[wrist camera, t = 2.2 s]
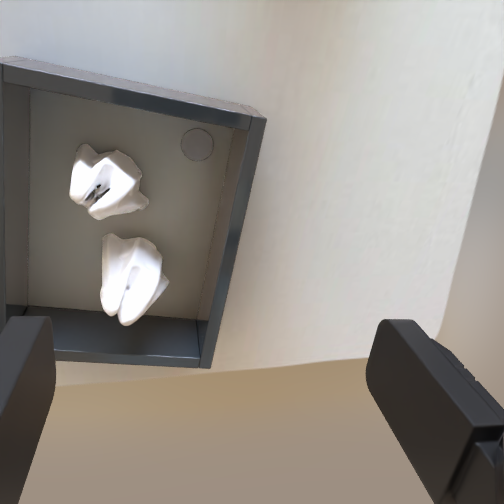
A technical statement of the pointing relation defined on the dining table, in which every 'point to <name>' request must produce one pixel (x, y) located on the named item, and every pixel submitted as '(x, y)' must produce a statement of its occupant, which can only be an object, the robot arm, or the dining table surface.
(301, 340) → the dining table surface
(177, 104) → the grey open box
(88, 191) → the shaker set
